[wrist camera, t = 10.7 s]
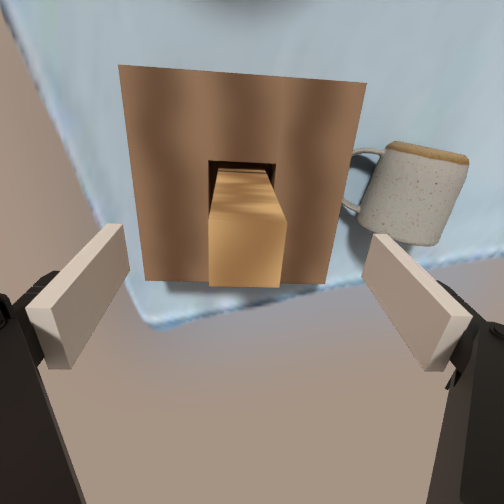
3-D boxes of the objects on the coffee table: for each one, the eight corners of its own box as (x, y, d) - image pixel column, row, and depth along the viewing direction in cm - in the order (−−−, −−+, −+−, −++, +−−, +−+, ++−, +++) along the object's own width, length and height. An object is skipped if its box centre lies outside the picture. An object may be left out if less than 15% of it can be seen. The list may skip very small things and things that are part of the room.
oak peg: (262, 162, 28) (287, 222, 15) (259, 203, 30) (279, 287, 17) (219, 160, 28) (207, 219, 15) (219, 201, 30) (208, 286, 17)
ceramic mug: (442, 147, 30) (502, 162, 23) (409, 222, 33) (452, 255, 27) (341, 128, 28) (373, 138, 22) (318, 208, 32) (339, 239, 25)
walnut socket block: (344, 84, 27) (366, 83, 22) (313, 260, 35) (324, 284, 31) (138, 69, 25) (118, 64, 21) (156, 256, 34) (145, 280, 29)
